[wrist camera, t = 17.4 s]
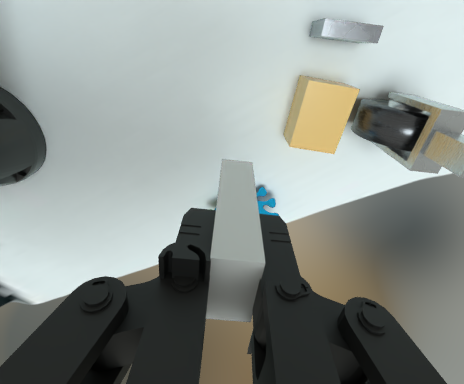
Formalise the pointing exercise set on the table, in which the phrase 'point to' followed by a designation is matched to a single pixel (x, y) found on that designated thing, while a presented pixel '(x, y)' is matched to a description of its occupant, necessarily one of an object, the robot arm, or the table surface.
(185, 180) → the table surface
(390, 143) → the wheel
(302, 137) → the block
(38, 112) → the table surface
